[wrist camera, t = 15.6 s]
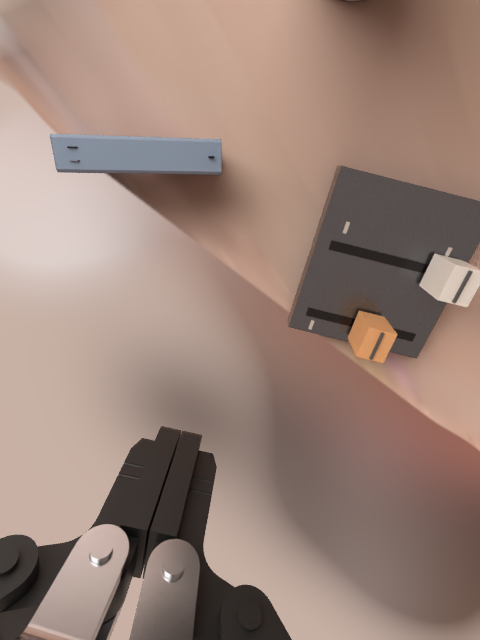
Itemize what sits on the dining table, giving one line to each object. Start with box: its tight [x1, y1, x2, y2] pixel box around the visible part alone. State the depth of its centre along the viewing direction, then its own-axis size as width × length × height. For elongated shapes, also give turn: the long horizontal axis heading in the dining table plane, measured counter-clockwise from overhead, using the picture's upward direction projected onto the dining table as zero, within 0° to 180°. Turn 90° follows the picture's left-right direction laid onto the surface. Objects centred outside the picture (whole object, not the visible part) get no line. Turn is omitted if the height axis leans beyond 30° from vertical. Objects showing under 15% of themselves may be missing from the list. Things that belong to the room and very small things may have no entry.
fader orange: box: [348, 311, 398, 363], centre depth 37 cm, size 4×3×5 cm
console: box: [288, 166, 480, 358], centre depth 37 cm, size 18×16×2 cm
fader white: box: [419, 254, 480, 307], centre depth 33 cm, size 4×3×5 cm
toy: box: [50, 134, 222, 175], centre depth 32 cm, size 3×16×10 cm, turn 89°
